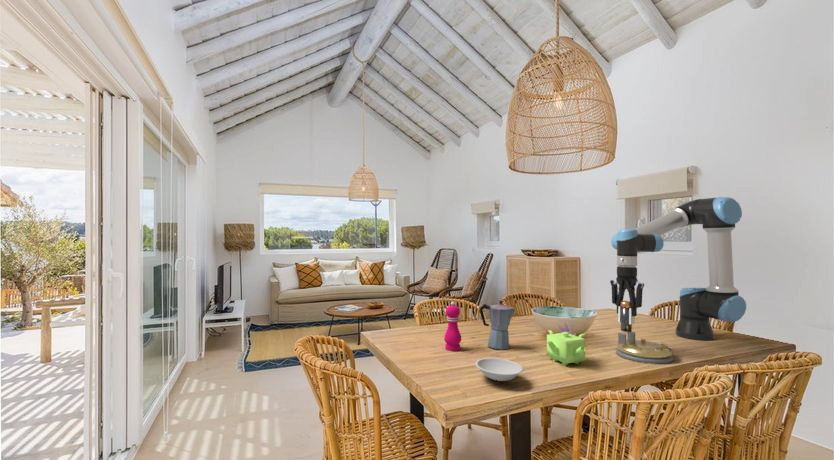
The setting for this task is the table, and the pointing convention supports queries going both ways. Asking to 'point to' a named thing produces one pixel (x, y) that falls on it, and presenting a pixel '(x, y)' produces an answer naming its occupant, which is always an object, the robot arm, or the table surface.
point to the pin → (625, 316)
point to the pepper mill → (452, 328)
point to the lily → (566, 329)
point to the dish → (499, 368)
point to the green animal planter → (566, 347)
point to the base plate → (643, 358)
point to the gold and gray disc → (642, 347)
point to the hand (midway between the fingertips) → (626, 322)
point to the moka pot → (498, 324)
